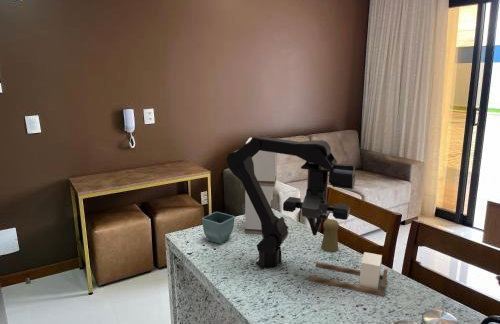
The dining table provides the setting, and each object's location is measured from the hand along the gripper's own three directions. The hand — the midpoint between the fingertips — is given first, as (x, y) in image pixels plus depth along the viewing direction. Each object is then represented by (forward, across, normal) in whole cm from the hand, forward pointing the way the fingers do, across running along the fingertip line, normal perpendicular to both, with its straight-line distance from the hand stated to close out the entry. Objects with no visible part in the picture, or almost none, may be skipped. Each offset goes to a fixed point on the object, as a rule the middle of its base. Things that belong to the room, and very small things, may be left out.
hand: (314, 235), depth 116 cm
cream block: (+12, +17, 0) cm, 21 cm away
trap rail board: (+13, +10, 0) cm, 17 cm away
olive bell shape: (+13, +1, +18) cm, 23 cm away
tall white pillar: (+13, -27, +26) cm, 40 cm away
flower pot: (+13, -37, +10) cm, 41 cm away
